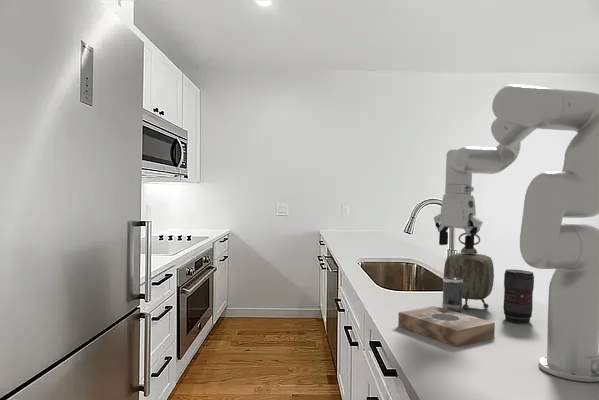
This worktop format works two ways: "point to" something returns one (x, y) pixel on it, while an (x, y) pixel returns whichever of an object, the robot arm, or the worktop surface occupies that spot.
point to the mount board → (447, 325)
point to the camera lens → (518, 295)
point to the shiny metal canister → (452, 294)
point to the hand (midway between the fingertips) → (455, 246)
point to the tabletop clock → (471, 273)
